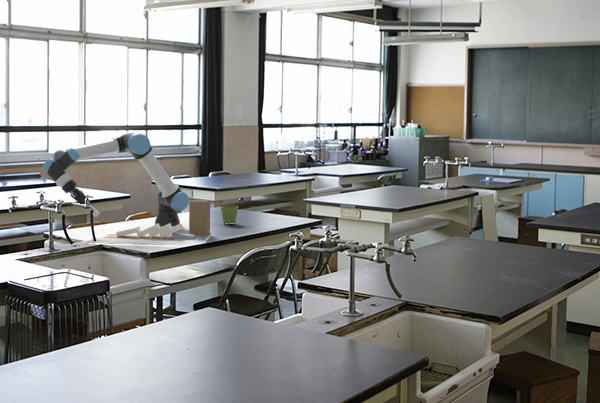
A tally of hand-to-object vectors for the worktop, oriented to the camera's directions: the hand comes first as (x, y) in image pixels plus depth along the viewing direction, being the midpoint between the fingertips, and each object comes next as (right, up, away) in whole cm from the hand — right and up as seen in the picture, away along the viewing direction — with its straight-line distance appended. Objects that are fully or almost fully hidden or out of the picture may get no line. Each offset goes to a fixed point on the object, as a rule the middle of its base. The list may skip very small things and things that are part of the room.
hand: (97, 215), depth 366 cm
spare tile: (+11, -10, +1) cm, 15 cm away
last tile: (+40, -11, +1) cm, 42 cm away
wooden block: (+53, -12, +17) cm, 57 cm away
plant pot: (+65, -7, +62) cm, 90 cm away
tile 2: (+22, -11, +1) cm, 24 cm away
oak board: (+23, -13, +1) cm, 27 cm away
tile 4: (+34, -11, +1) cm, 36 cm away
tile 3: (+28, -11, +1) cm, 30 cm away
